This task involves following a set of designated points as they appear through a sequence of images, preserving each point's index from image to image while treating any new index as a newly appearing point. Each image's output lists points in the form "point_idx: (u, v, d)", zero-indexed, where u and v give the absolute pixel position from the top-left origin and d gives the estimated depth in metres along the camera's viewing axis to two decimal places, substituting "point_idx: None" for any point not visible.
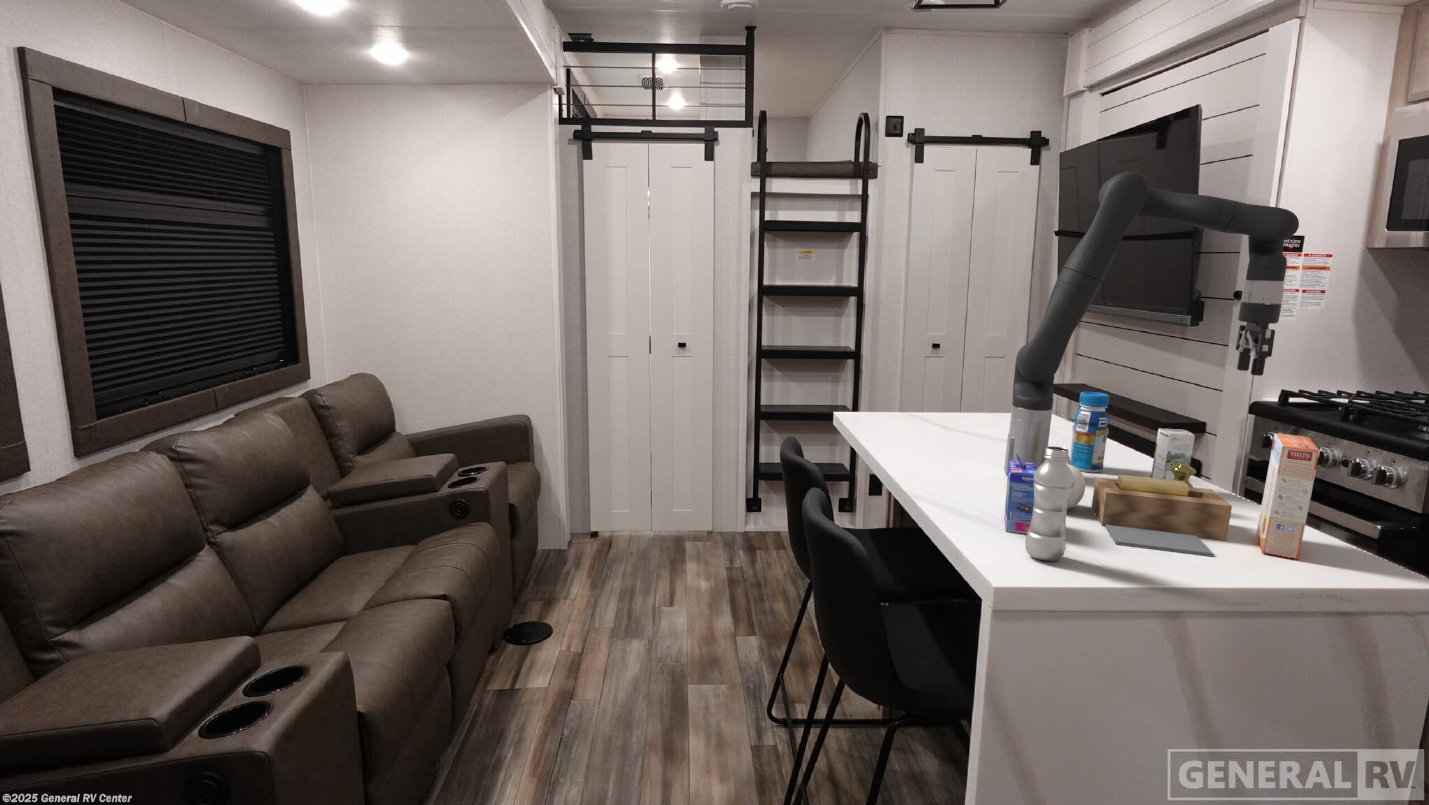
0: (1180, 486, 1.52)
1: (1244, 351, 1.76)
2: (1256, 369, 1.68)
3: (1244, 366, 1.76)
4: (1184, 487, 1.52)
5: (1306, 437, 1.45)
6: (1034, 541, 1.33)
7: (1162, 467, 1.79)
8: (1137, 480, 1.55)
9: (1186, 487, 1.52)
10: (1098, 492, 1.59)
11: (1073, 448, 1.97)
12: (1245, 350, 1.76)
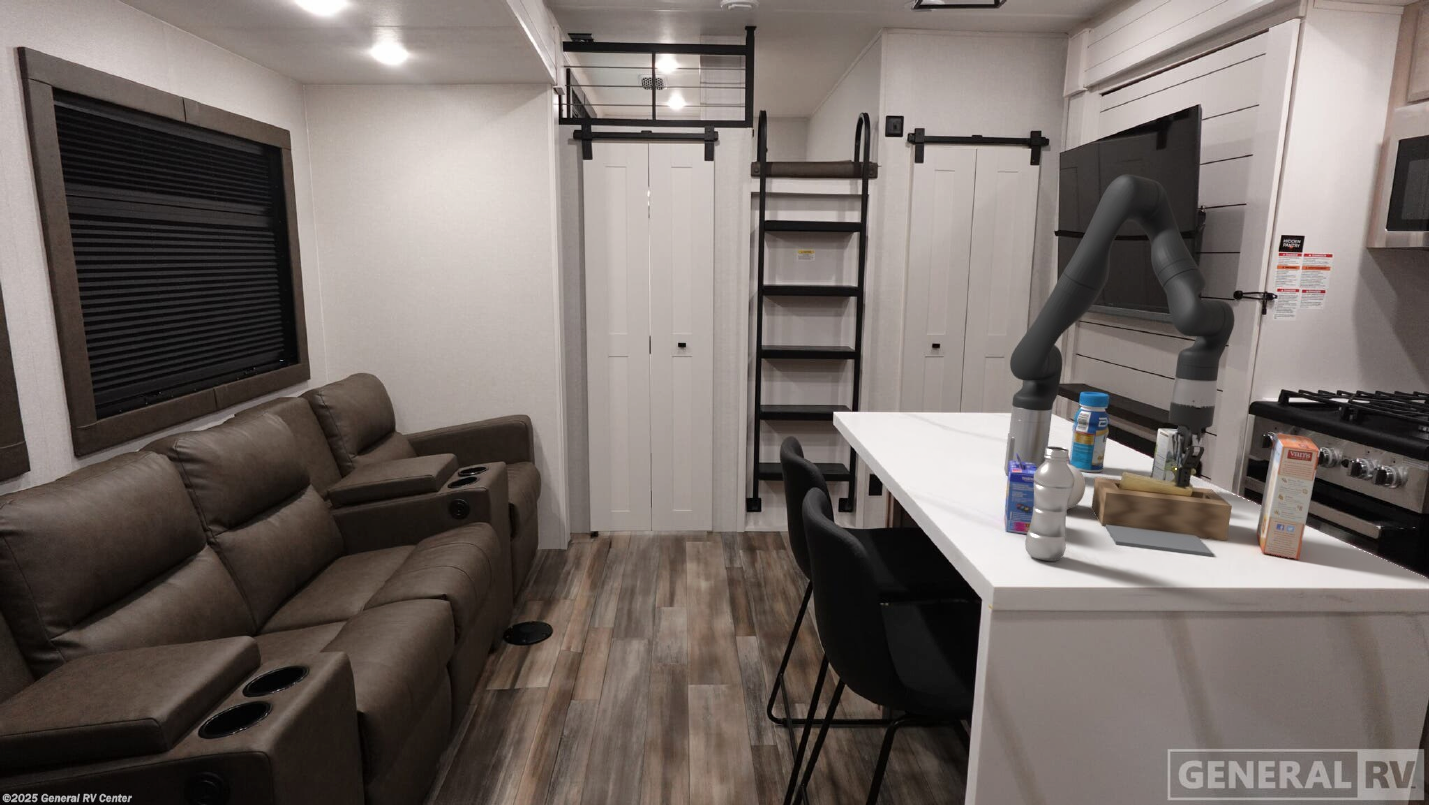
0: (1183, 489, 1.52)
1: None
2: (1181, 480, 1.52)
3: None
4: (1187, 490, 1.52)
5: (1306, 437, 1.45)
6: (1034, 541, 1.33)
7: (1162, 467, 1.79)
8: (1141, 479, 1.54)
9: (1189, 491, 1.51)
10: (1098, 492, 1.59)
11: (1073, 448, 1.97)
12: None
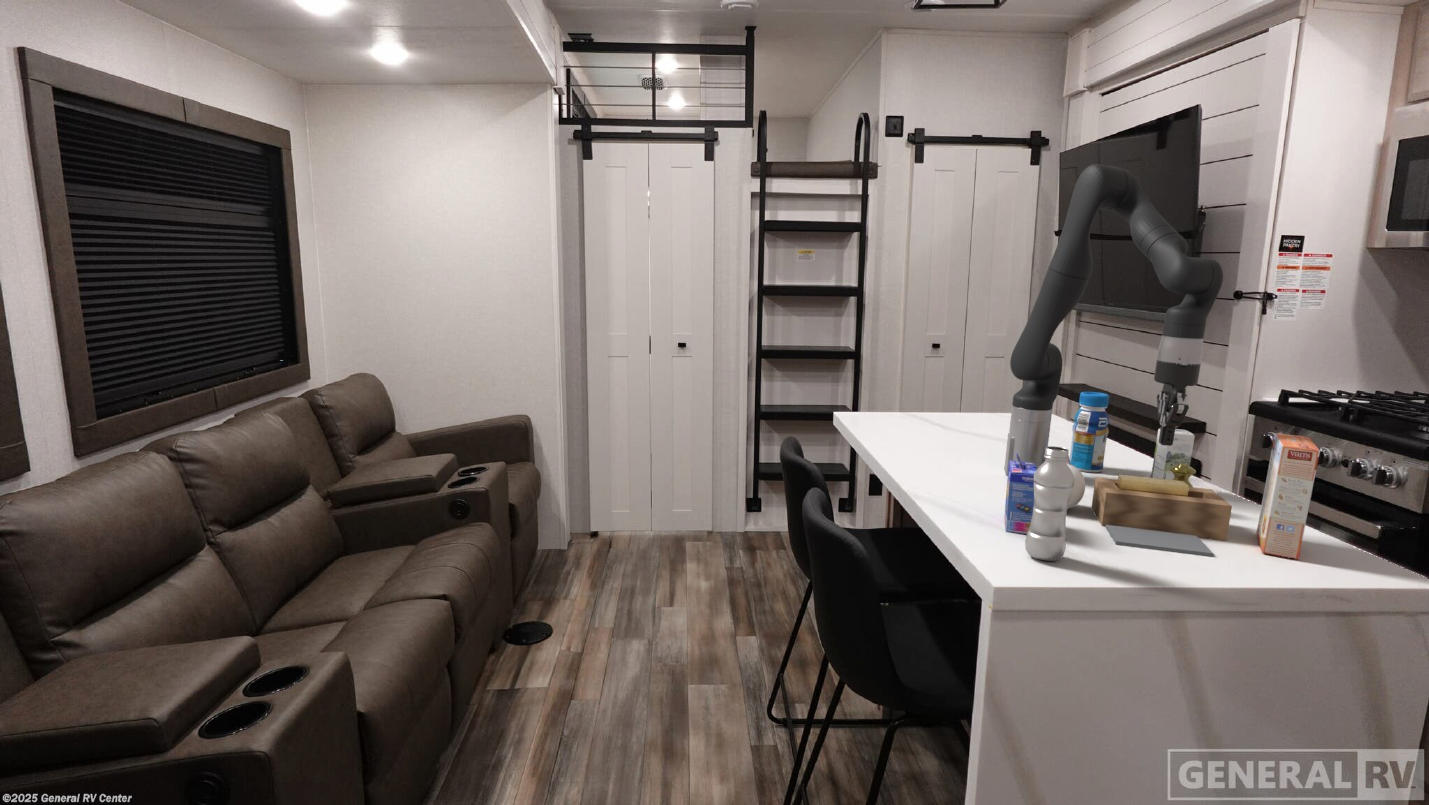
0: (1180, 486, 1.52)
1: None
2: (1165, 439, 1.52)
3: None
4: (1184, 487, 1.52)
5: (1306, 437, 1.45)
6: (1034, 541, 1.33)
7: (1162, 467, 1.79)
8: (1137, 480, 1.55)
9: (1186, 487, 1.52)
10: (1098, 492, 1.59)
11: (1073, 448, 1.97)
12: None
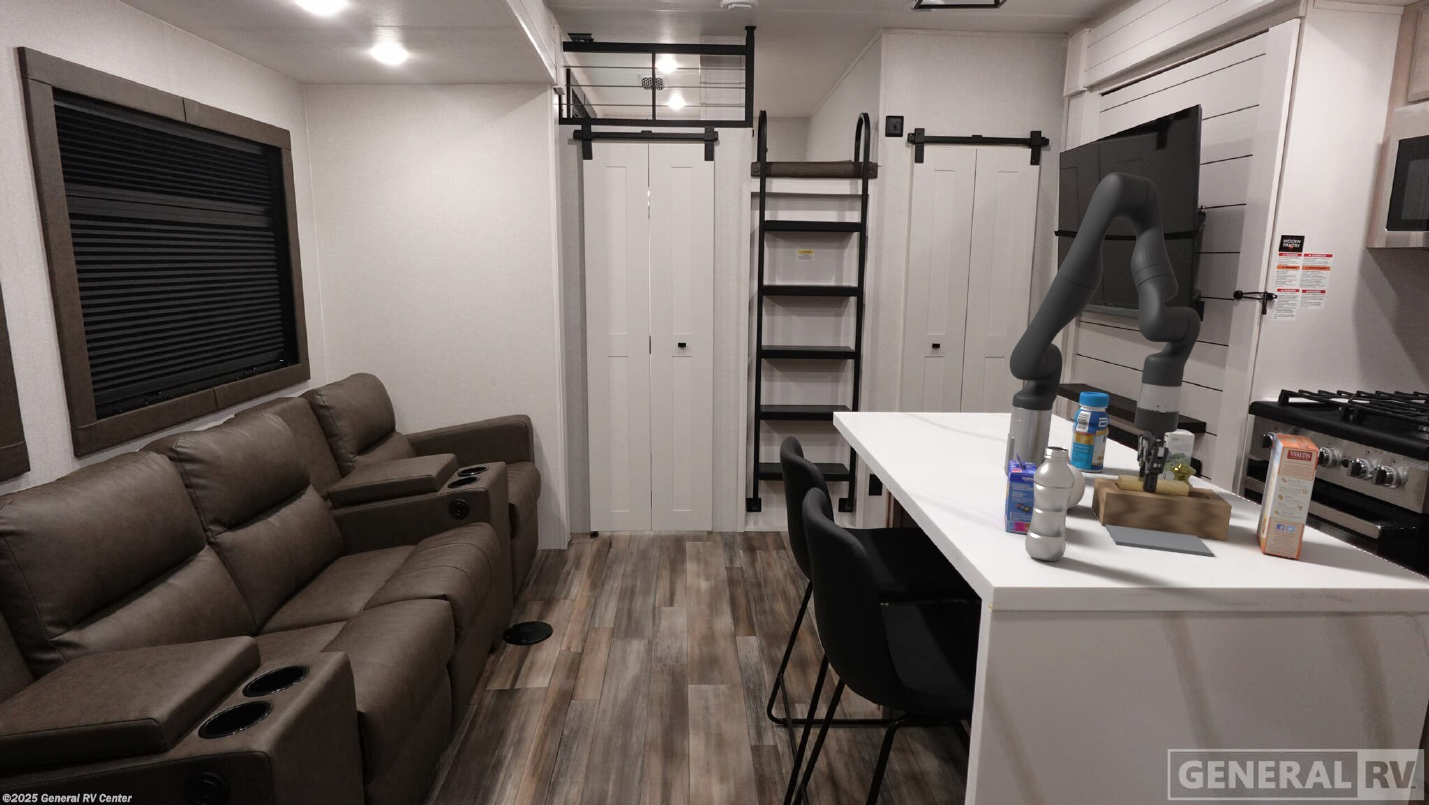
0: (1180, 486, 1.52)
1: (1145, 463, 1.57)
2: (1148, 486, 1.52)
3: None
4: (1184, 487, 1.52)
5: (1306, 437, 1.45)
6: (1034, 541, 1.33)
7: None
8: (1137, 480, 1.55)
9: (1186, 487, 1.52)
10: (1098, 492, 1.59)
11: (1073, 448, 1.97)
12: (1146, 463, 1.57)
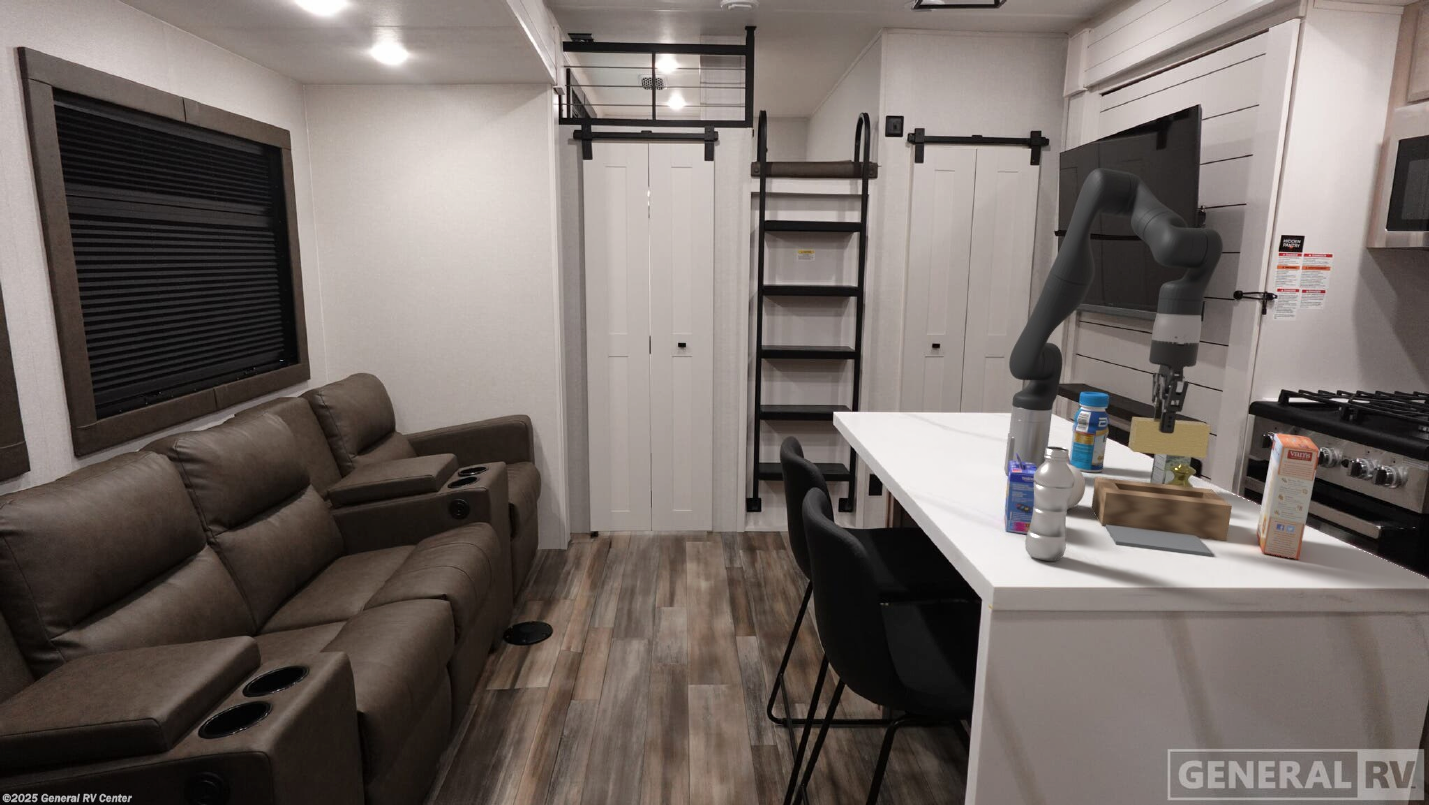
0: (1201, 426, 1.39)
1: (1161, 404, 1.44)
2: (1165, 426, 1.39)
3: None
4: (1205, 427, 1.39)
5: (1306, 437, 1.45)
6: (1034, 541, 1.33)
7: (1162, 467, 1.79)
8: (1153, 421, 1.41)
9: (1207, 427, 1.38)
10: (1098, 492, 1.59)
11: (1073, 448, 1.97)
12: (1162, 404, 1.44)
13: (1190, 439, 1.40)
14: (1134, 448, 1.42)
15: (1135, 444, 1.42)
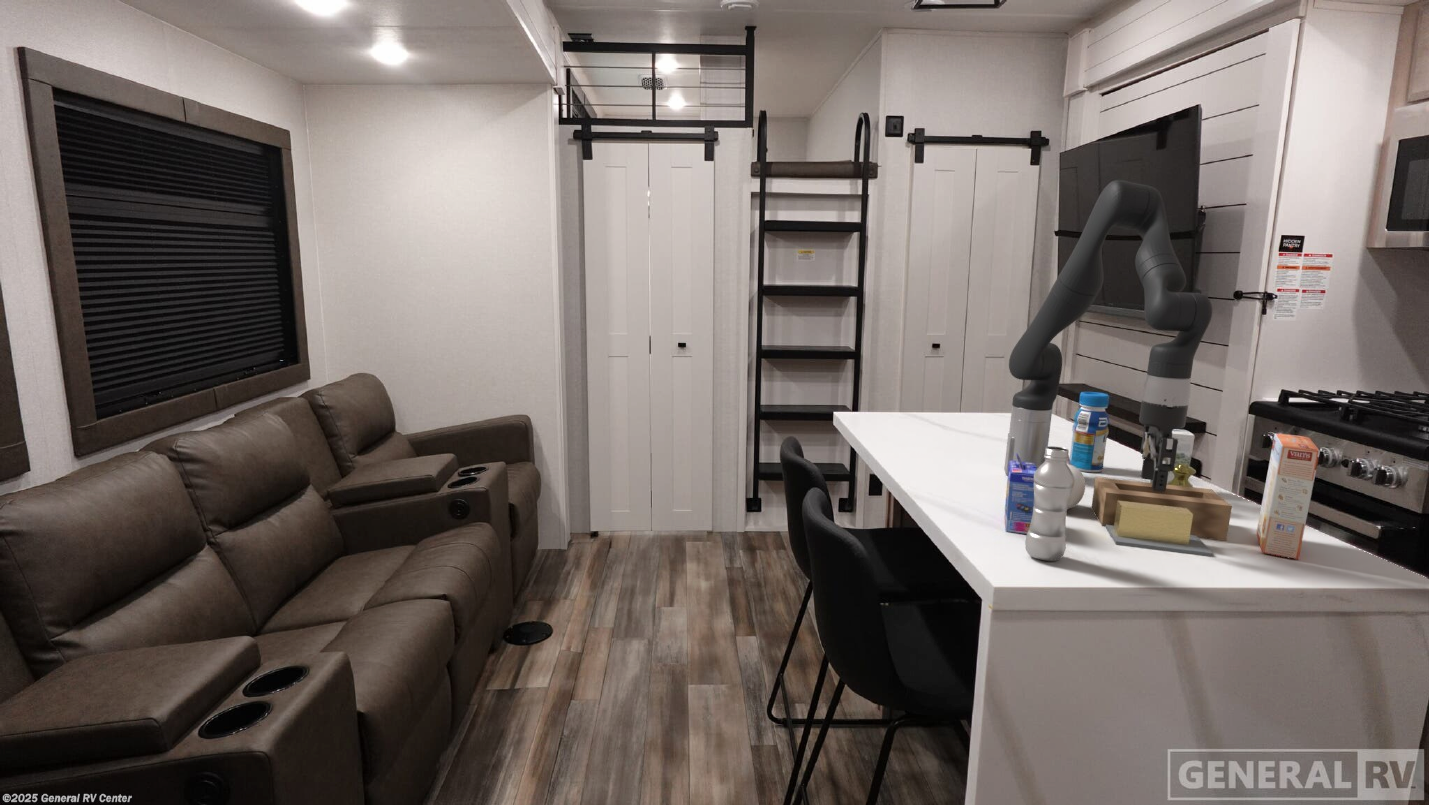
0: (1183, 514, 1.42)
1: (1149, 457, 1.47)
2: (1157, 484, 1.39)
3: (1149, 474, 1.47)
4: (1188, 515, 1.42)
5: (1306, 437, 1.45)
6: (1034, 541, 1.33)
7: None
8: (1137, 507, 1.45)
9: (1190, 515, 1.41)
10: (1098, 492, 1.59)
11: (1073, 448, 1.97)
12: (1150, 455, 1.47)
13: (1173, 526, 1.43)
14: (1118, 533, 1.46)
15: (1119, 529, 1.45)
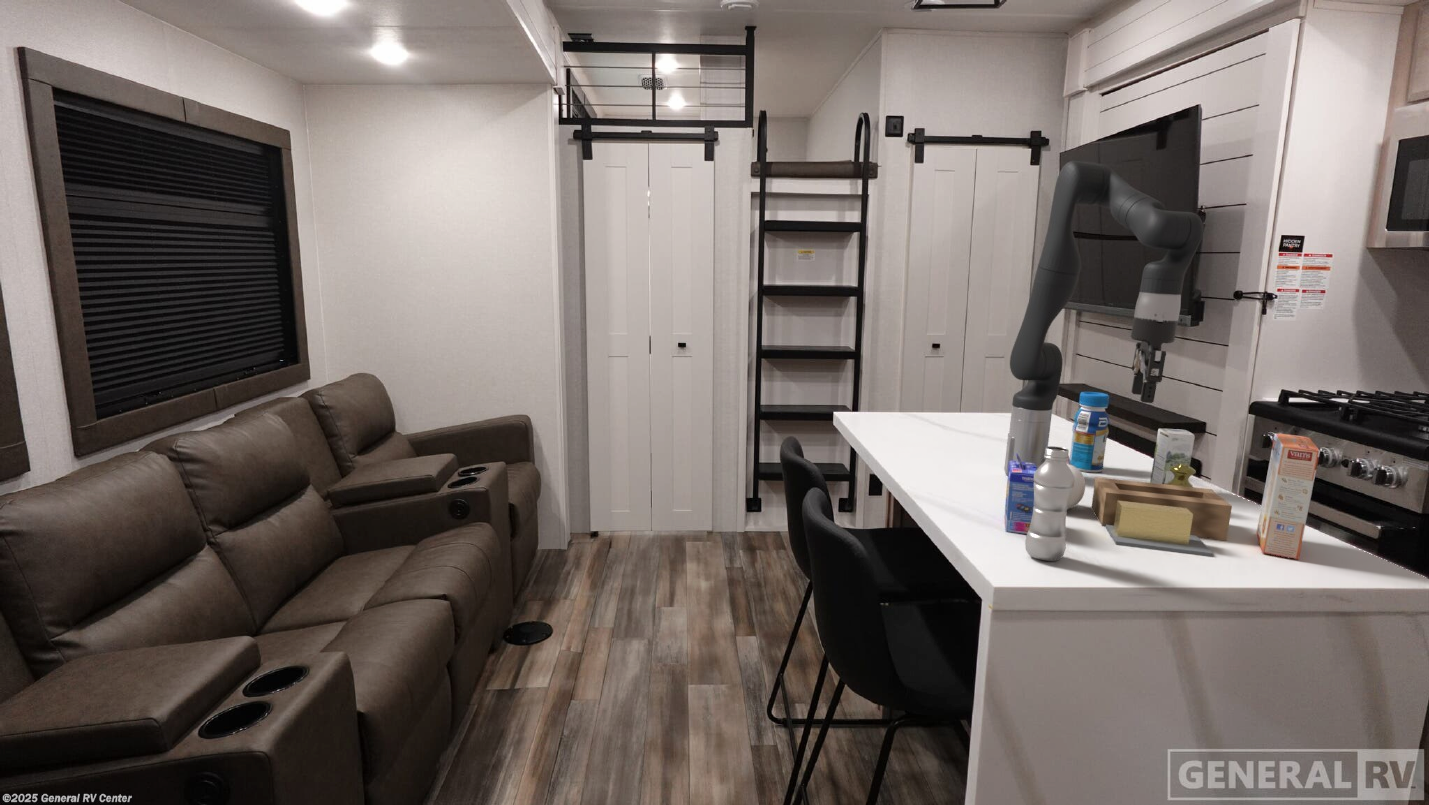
0: (1183, 514, 1.42)
1: (1139, 372, 1.54)
2: (1145, 395, 1.46)
3: (1139, 389, 1.54)
4: (1188, 515, 1.42)
5: (1306, 437, 1.45)
6: (1034, 541, 1.33)
7: (1162, 467, 1.79)
8: (1137, 507, 1.45)
9: (1190, 515, 1.41)
10: (1098, 492, 1.59)
11: (1073, 448, 1.97)
12: (1140, 371, 1.54)
13: (1173, 526, 1.43)
14: (1118, 533, 1.46)
15: (1119, 529, 1.45)
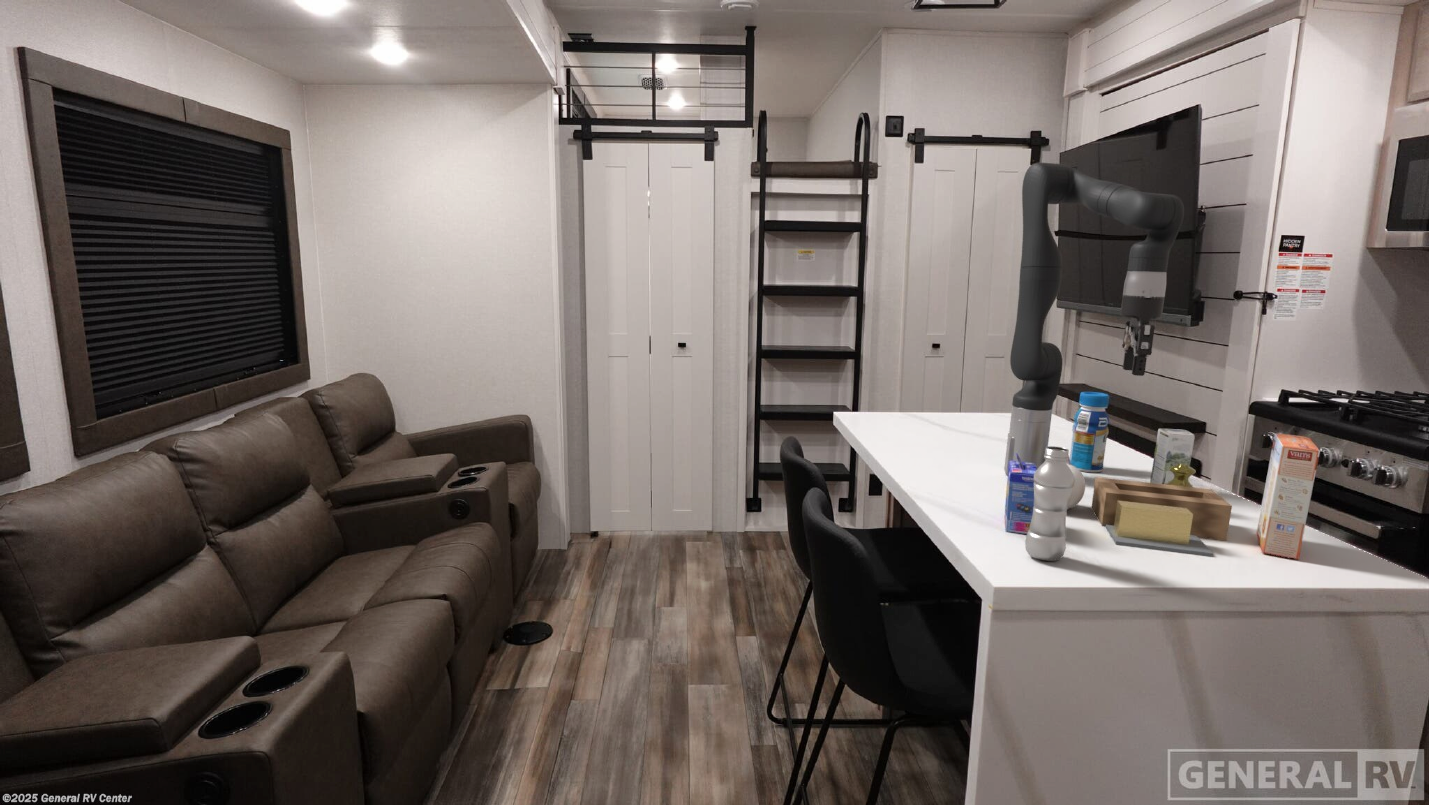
0: (1183, 514, 1.42)
1: (1130, 349, 1.61)
2: (1136, 369, 1.53)
3: (1130, 365, 1.62)
4: (1188, 515, 1.42)
5: (1306, 437, 1.45)
6: (1034, 541, 1.33)
7: (1162, 467, 1.79)
8: (1137, 507, 1.44)
9: (1190, 515, 1.41)
10: (1098, 492, 1.59)
11: (1073, 448, 1.97)
12: (1131, 348, 1.61)
13: (1173, 526, 1.43)
14: (1118, 533, 1.46)
15: (1119, 529, 1.45)
